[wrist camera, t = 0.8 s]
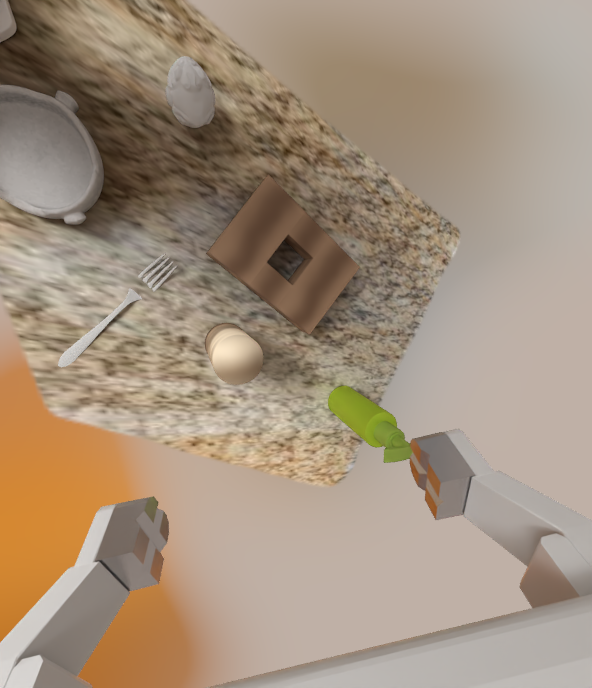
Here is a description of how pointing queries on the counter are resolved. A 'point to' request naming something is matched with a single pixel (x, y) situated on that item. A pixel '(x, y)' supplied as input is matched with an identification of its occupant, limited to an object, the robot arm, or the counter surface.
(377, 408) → the soap dispenser
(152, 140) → the counter surface
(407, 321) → the counter surface
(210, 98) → the frog figurine
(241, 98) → the counter surface
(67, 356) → the fork
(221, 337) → the maple leg
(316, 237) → the walnut board
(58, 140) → the dish
